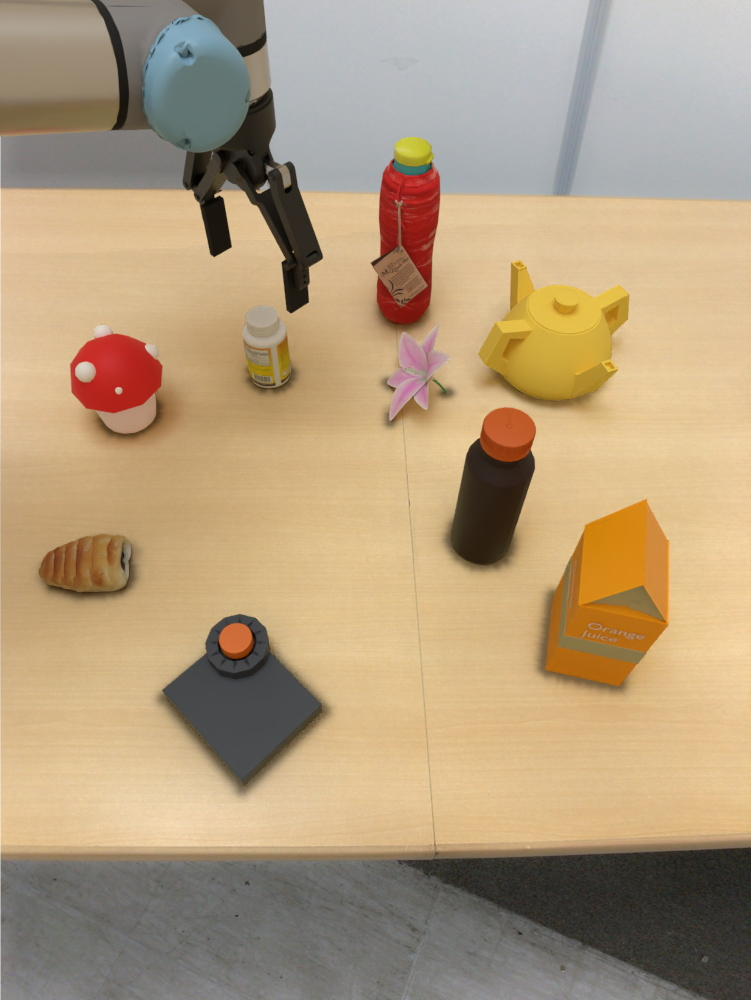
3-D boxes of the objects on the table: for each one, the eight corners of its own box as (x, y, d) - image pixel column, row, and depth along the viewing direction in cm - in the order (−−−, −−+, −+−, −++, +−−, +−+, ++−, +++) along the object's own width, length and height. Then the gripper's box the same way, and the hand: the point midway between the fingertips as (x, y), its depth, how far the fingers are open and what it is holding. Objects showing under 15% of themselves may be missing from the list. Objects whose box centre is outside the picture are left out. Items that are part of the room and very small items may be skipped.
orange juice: (623, 610, 80) (692, 506, 63) (620, 687, 75) (694, 596, 58) (551, 595, 81) (600, 488, 64) (543, 670, 76) (594, 576, 59)
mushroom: (144, 370, 98) (121, 299, 88) (192, 417, 94) (172, 348, 84) (72, 411, 94) (39, 340, 84) (118, 462, 90) (89, 394, 80)
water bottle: (414, 354, 101) (428, 186, 80) (359, 339, 102) (359, 171, 82) (439, 298, 108) (458, 130, 87) (387, 285, 109) (394, 117, 88)
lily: (407, 356, 102) (376, 317, 94) (487, 354, 96) (461, 312, 88) (386, 434, 99) (352, 401, 91) (467, 438, 93) (438, 402, 85)
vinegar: (440, 525, 85) (460, 410, 69) (492, 508, 87) (524, 391, 70) (466, 573, 82) (493, 464, 65) (520, 554, 83) (560, 443, 67)
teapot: (469, 390, 97) (482, 321, 88) (502, 310, 106) (517, 239, 97) (596, 426, 94) (624, 358, 85) (618, 341, 103) (646, 270, 93)
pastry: (40, 602, 79) (27, 584, 76) (48, 548, 83) (36, 529, 80) (130, 592, 80) (121, 575, 77) (133, 539, 84) (125, 521, 81)
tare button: (214, 644, 73) (212, 637, 72) (239, 623, 75) (237, 616, 73) (235, 665, 72) (232, 659, 71) (260, 644, 73) (258, 637, 72)
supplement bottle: (283, 355, 100) (276, 295, 92) (297, 383, 98) (291, 324, 89) (244, 366, 99) (233, 306, 91) (256, 395, 96) (246, 336, 88)
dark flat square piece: (159, 689, 74) (151, 676, 71) (245, 618, 78) (241, 603, 76) (243, 786, 69) (238, 776, 66) (330, 703, 73) (329, 691, 70)
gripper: (356, 127, 65) (357, 315, 82) (181, 30, 74) (216, 216, 92) (291, 161, 61) (307, 348, 79) (118, 55, 71) (166, 243, 89)
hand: (258, 278), depth 85 cm, fingers open, 13 cm apart
